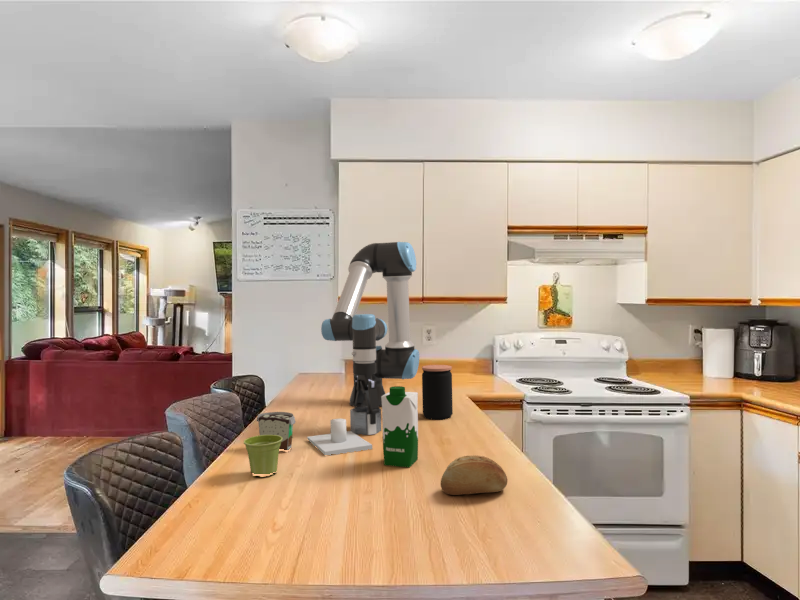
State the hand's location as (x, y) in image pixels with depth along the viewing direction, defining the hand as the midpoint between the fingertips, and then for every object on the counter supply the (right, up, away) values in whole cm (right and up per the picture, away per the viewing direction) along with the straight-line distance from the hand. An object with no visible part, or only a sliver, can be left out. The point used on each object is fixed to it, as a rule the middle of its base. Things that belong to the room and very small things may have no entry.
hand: (365, 430), depth 173 cm
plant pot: (-23, -1, -41) cm, 47 cm away
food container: (-24, -1, -18) cm, 30 cm away
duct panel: (-7, 0, -15) cm, 17 cm away
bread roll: (+28, 0, -55) cm, 62 cm away
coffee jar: (+25, 0, +18) cm, 31 cm away
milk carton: (+11, -1, -33) cm, 35 cm away
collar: (0, 0, 0) cm, 0 cm away
